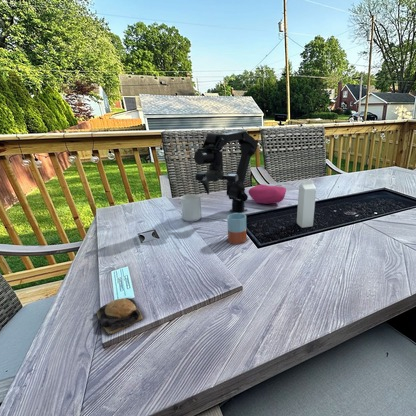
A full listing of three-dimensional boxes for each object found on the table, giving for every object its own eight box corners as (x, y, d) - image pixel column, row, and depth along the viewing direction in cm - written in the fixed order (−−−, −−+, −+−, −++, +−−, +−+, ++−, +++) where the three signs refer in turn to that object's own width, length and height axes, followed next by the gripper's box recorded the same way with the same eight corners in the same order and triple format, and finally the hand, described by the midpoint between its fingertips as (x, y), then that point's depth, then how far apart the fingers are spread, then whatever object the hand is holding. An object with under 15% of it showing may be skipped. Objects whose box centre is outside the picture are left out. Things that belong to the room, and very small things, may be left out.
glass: (235, 223, 111) (235, 211, 109) (249, 227, 108) (249, 215, 106) (223, 229, 105) (223, 217, 103) (238, 234, 102) (238, 221, 100)
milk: (313, 226, 125) (317, 181, 118) (301, 228, 123) (305, 182, 115) (307, 221, 130) (310, 178, 123) (296, 223, 128) (299, 179, 120)
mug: (203, 220, 125) (201, 198, 121) (183, 223, 121) (181, 200, 118) (199, 212, 135) (198, 191, 131) (181, 214, 132) (179, 193, 128)
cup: (236, 234, 113) (235, 223, 111) (249, 238, 110) (249, 227, 108) (224, 240, 107) (223, 229, 105) (238, 245, 103) (238, 234, 102)
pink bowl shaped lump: (244, 200, 157) (243, 184, 154) (266, 194, 170) (266, 179, 167) (270, 210, 143) (271, 193, 140) (293, 203, 156) (293, 187, 153)
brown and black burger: (94, 313, 66) (91, 301, 65) (130, 298, 72) (128, 287, 71) (106, 337, 59) (102, 324, 58) (145, 318, 65) (143, 306, 64)
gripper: (188, 163, 111) (191, 198, 117) (231, 166, 111) (232, 201, 116) (198, 159, 122) (201, 191, 127) (238, 162, 121) (238, 194, 126)
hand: (217, 194), depth 124 cm, fingers open, 9 cm apart
